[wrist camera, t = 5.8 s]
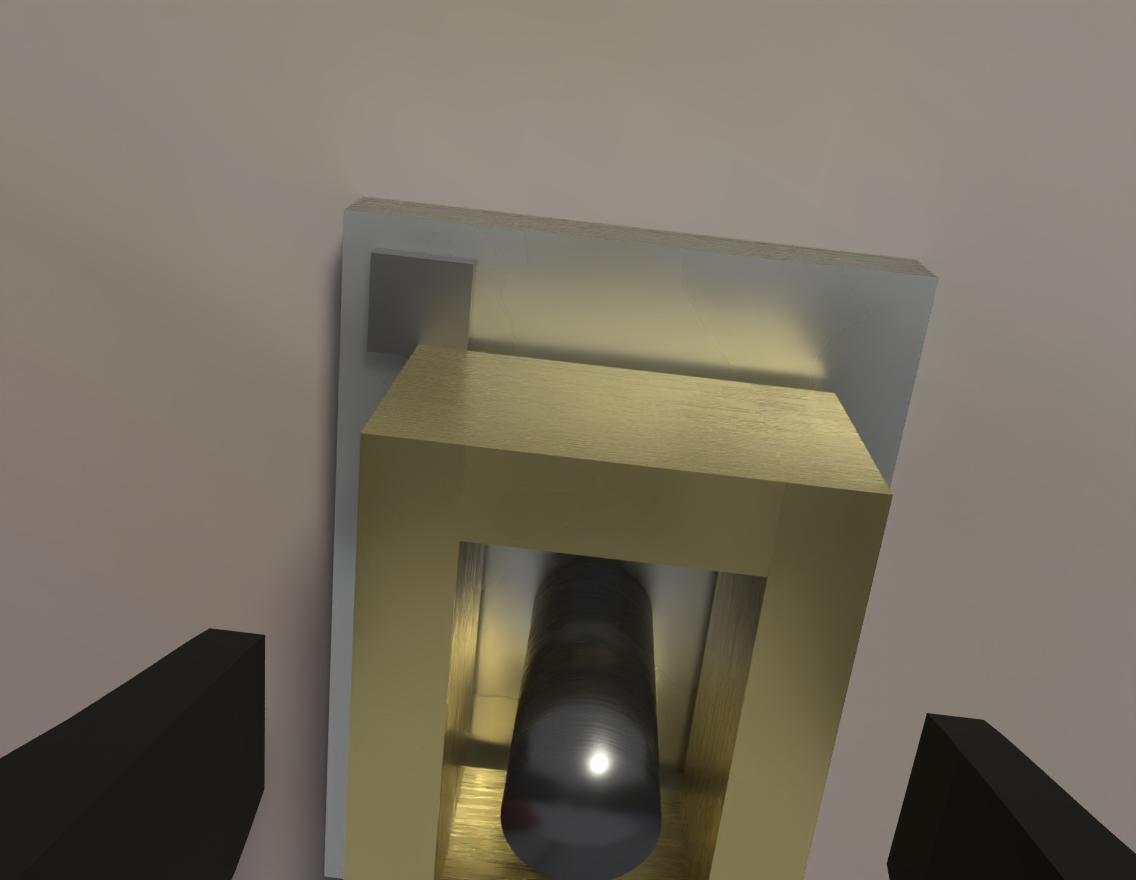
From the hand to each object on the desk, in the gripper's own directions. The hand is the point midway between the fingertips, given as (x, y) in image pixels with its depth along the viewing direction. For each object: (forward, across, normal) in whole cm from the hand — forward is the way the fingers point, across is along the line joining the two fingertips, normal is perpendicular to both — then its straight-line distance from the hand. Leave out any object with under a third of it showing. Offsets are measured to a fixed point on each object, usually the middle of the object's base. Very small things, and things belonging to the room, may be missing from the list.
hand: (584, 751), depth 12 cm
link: (+3, 0, 0) cm, 3 cm away
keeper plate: (+4, 0, 0) cm, 4 cm away
